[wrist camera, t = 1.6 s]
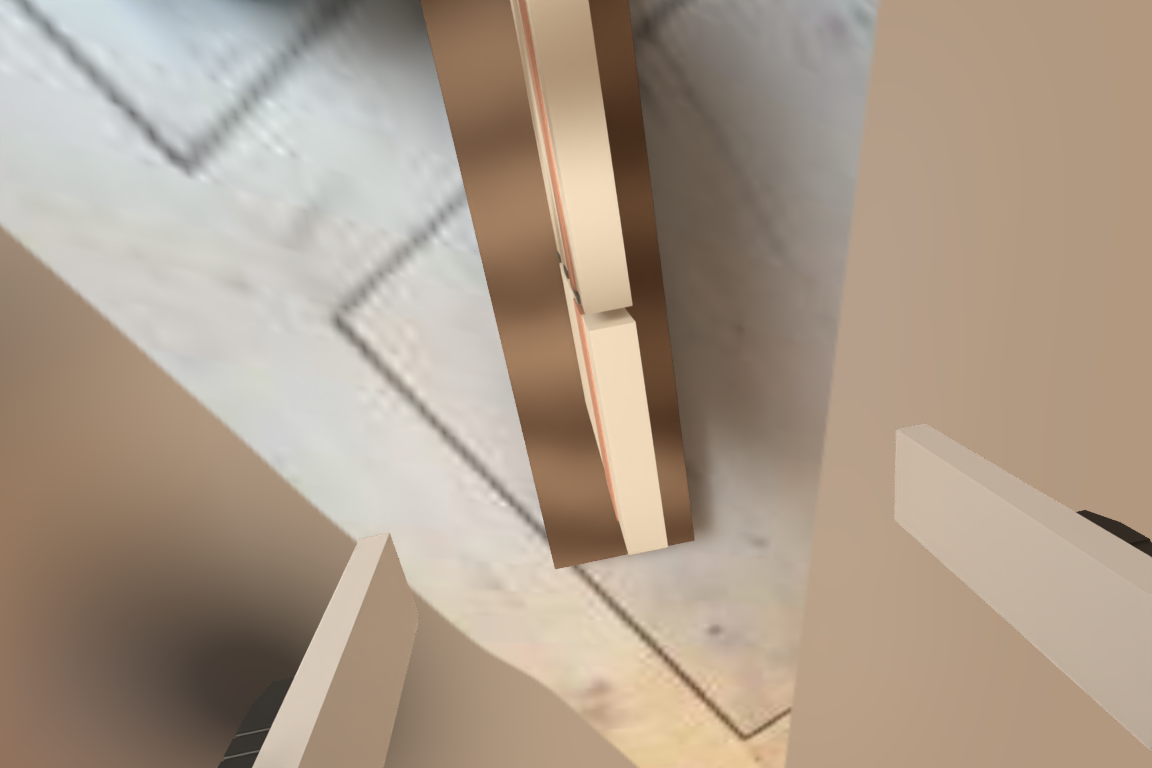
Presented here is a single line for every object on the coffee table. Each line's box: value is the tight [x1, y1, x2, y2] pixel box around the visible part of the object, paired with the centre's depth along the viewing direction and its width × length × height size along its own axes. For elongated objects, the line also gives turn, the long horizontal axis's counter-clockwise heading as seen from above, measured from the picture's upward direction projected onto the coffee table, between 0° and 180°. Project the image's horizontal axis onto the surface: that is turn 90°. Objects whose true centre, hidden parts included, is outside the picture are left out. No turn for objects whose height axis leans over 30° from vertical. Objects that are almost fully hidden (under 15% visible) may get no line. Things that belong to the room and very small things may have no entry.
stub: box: [559, 263, 668, 555], centre depth 21 cm, size 7×1×12 cm, turn 10°
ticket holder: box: [420, 0, 694, 569], centre depth 21 cm, size 32×8×14 cm, turn 10°
